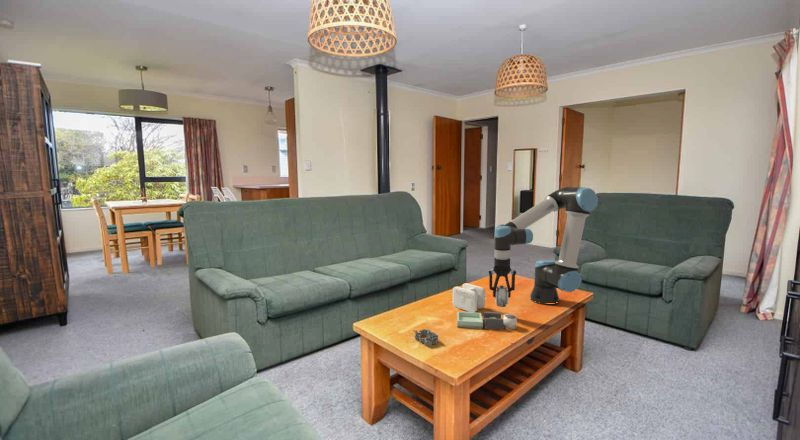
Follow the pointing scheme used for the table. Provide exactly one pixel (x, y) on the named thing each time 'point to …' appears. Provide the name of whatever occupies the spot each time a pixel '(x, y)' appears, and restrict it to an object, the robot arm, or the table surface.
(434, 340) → the dark grey lumpy ring
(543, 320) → the table surface
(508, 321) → the cup
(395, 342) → the table surface
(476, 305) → the cable organizer
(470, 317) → the tray
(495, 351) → the table surface
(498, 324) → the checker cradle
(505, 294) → the steel cell
